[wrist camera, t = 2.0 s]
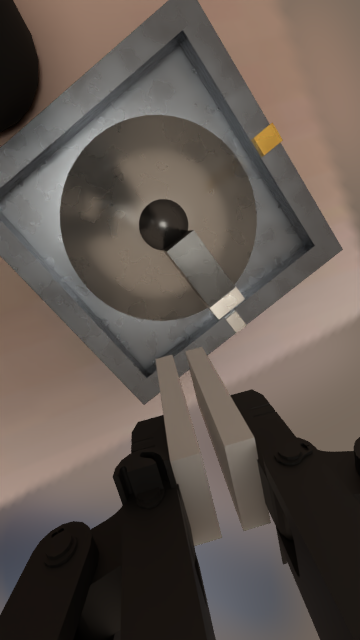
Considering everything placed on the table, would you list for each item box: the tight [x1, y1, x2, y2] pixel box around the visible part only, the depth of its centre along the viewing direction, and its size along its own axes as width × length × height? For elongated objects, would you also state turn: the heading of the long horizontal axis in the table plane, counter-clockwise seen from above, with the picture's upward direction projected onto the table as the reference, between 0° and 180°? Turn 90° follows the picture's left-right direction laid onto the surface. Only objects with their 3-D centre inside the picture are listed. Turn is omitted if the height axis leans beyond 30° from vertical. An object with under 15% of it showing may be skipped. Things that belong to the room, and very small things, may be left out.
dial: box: [60, 115, 257, 321], centre depth 26 cm, size 17×17×6 cm
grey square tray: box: [0, 0, 343, 404], centre depth 29 cm, size 24×24×5 cm
